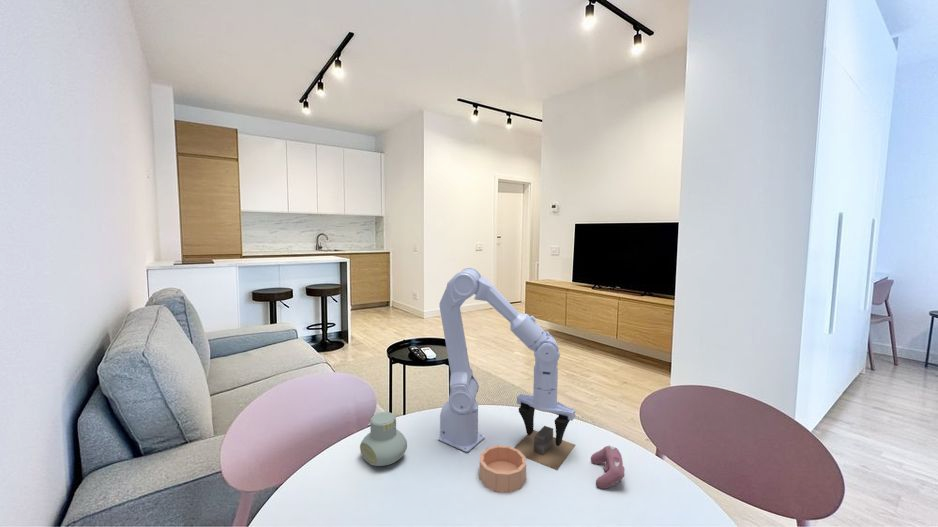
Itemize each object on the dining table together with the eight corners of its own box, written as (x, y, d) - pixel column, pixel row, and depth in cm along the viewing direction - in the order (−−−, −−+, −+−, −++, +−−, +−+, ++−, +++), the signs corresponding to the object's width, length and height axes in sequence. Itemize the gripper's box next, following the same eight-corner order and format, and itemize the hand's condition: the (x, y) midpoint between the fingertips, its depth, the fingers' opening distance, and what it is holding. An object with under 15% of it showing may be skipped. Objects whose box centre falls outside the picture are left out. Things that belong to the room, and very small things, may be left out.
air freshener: (356, 455, 88) (355, 415, 87) (385, 441, 94) (385, 403, 93) (381, 477, 80) (381, 433, 79) (412, 460, 86) (411, 419, 85)
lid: (510, 453, 90) (510, 435, 89) (531, 432, 100) (532, 415, 99) (557, 473, 83) (557, 453, 83) (575, 447, 93) (576, 429, 92)
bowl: (470, 479, 80) (471, 462, 79) (494, 456, 88) (495, 440, 87) (511, 499, 74) (511, 480, 73) (533, 472, 82) (533, 455, 82)
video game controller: (614, 499, 76) (631, 472, 75) (594, 487, 77) (611, 460, 76) (606, 468, 86) (621, 445, 85) (588, 458, 87) (603, 434, 85)
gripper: (580, 387, 89) (578, 440, 90) (526, 373, 97) (525, 422, 98) (569, 398, 83) (567, 455, 84) (513, 382, 91) (512, 434, 93)
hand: (544, 438), depth 91 cm, fingers open, 7 cm apart
